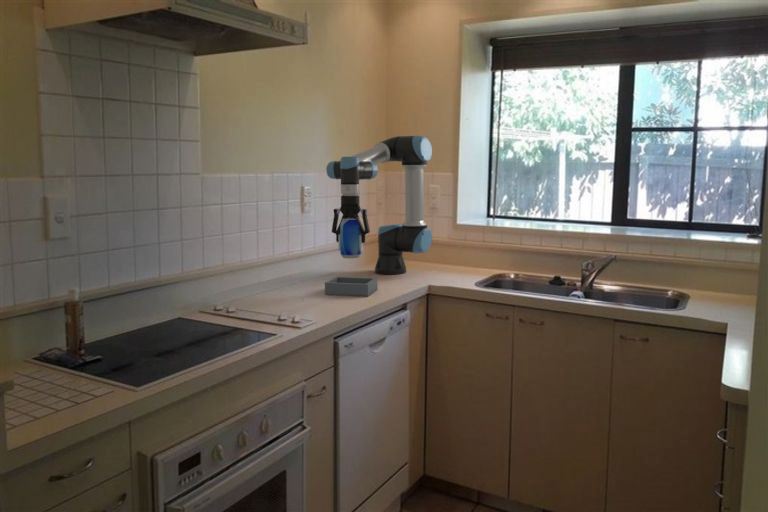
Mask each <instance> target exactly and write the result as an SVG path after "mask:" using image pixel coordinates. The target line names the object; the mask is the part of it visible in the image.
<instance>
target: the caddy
mask: <svg viewBox="0 0 768 512" xmlns="http://www.w3.org/2000/svg"><path fill="white" fill-rule="evenodd" d="M376 291H378V278H377V277H361V276H360V277H359V276H358V277H355V276H353V277H352V276H335V277H332V278H330V279H329V280H327V281H325V282H324V295H325V296H341V297H342V296H345V297H361V296H362V297H366V298H369V297H370V296H371V295H373V293H375V292H376ZM362 297H361V298H362Z"/></svg>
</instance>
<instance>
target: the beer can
mask: <svg viewBox="0 0 768 512" xmlns="http://www.w3.org/2000/svg"><path fill="white" fill-rule="evenodd" d="M340 222H341V221H340ZM340 222H339V224H340V243H341V251H340V255H341V257H342V258H343V259H358V258H360V256H361V255H362V251H360V249H359V235H361V233H360V230H359V223H358V222H357V220H356V219H354V218H347V219H343V220H342V222H341V223H340Z"/></svg>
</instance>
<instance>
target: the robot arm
mask: <svg viewBox="0 0 768 512" xmlns="http://www.w3.org/2000/svg"><path fill="white" fill-rule="evenodd" d="M432 156H433V147H432V143H431V142H430V140H429V139H428V138H427V137H426V136H424V135H407V136H406V135H405V136H404V135H403V136H402V135H399V136H393V137H389V138H386V139H385V140H382V141H380V142H378V143H375V144H374V145H373V147H371V148H368V149H365V150H364V151H361V152H358V153H356V154H353V155H351V156H342V157H341V158H340V160H334V161H329V162H328V164H327V165H326V167H325V168H326V176H328V178H329V179H332V180H333V179H334V180H340V194H341V196H340V207H339V208H334V209H333V220H332V227H331V233H333V234H335V237H336V238H335V240H336V243H338V251H340V252H341V243H340V223H341V222H342V220H343V219H347V218H354V219H356V220H357V222H358V223H359V230H360V233H361V235H359V249H360V251H361V252H362V251H364V244H365V243H366V235H367V234H369V233H370V231H371V230H370V226H369V221H368V215H367V214H368V209H366V208H365V209H364V208H361V207H360V180H372V179H374V178H377V177H376V176H378V172H379V168H378V166H377V164H386V163H388V162H399V163H401V167H402V168H404V179H405V180H404V184H405V185H404V190H405V191H404V195H405V197H404V198H405V199H404V201H405V202H404V204H405V206H404V209H405V210H404V212H405V213H404V214H405V216H404V218H405V221H404V222H402V223H395V224H394V223H393V224H387V225H380V226H379V227H378V232H377V233H378V234H377V238H378V241H377V243H378V244H377V245H378V255H377V256H378V257H377V260H376V263H375V266H374V273H376V274H380V275H400V274H401V275H402V274H405V273H407V267H406V262H405V260H404V257H403V256H404V255H403V253H412V254H413V253H414V254H424V253H426V252H427V251H428V250H429V248H430V247H431V245H432V242H433V233H432V231H431V229H429V228H428V223H427V222H425V220H424V219H425V218H424V216H425V215H424V213H425V212H424V211H425V208H424V206H425V205H424V202H425V201H424V200H425V199H424V198H425V193H424V191H425V187H424V186H425V183H424V182H425V181H424V180H425V178H424V176H425V168H426V167H427V166H428V162H430V160H431V159H432ZM340 213H342V217H341V220H340V221H339V215H340ZM359 213H360V214H361V218H362V222H361V220H360V217H359ZM338 221H339V224H338ZM362 223H363V224H362Z"/></svg>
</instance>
